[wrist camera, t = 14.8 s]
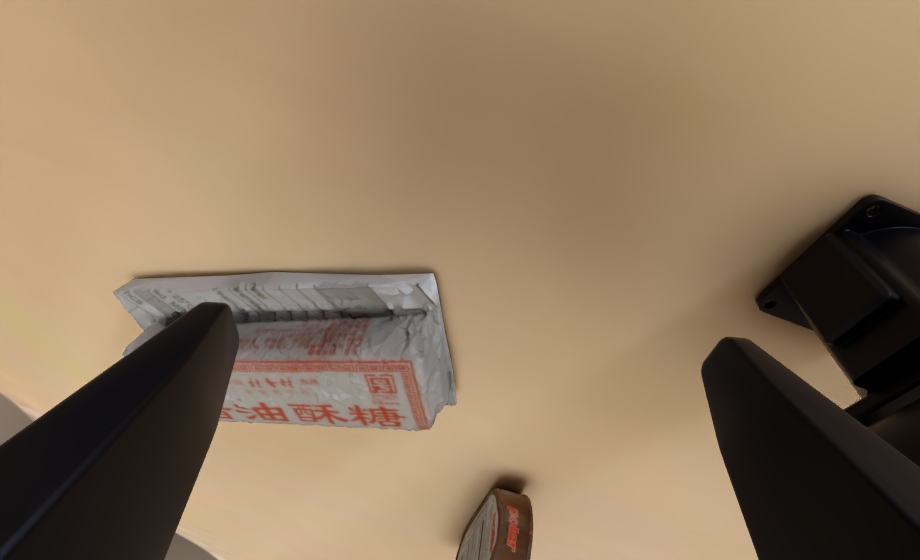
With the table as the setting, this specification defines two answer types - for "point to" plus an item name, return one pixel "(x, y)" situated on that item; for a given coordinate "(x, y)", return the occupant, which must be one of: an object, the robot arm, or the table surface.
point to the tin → (499, 529)
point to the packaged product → (318, 345)
